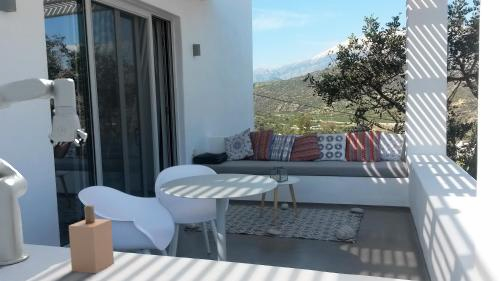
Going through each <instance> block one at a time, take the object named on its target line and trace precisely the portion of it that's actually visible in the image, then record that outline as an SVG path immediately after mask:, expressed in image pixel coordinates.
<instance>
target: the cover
mask: <svg viewBox="0 0 500 281" xmlns="http://www.w3.org/2000/svg"><path fill="white" fill-rule="evenodd" d="M83 207H84V219H83V220H81V221H78V222H75V223H73V224H70V225H68V234H69V235H68V236H69V248H70V249H69V250H70V262H71V263H70V264H71V271H72V272H74V273H75V272H79V273H86V274H87V273H88V274H97V273H99V272H101V271H102V270H104V269H106V268H108V267H110V266H111V265H113V264H115V257H114V244H113V228H112V219H105V218H101V219H100V218H96V216H95V205H94V204H88V205H87V204H86V205H84V206H83Z"/></svg>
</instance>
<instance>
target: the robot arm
mask: <svg viewBox="0 0 500 281" xmlns="http://www.w3.org/2000/svg"><path fill="white" fill-rule="evenodd" d="M75 88H76V87H75V81H74V80H73V78H72V79H71V78H55V79H54V80H53V79H46V78H41V77H32V78H30V77H29V78H26V79H20V80H16V81H11V82H8V83H3V84H1V85H0V110H2V109H8V108H11V107H12V105H14V104H16V103H17V104H18V103H21V102H25V101H33V100H37V99H41V100H50V99H53V102H54V103H53V105H54V109H53V110H52V112H53V113H54V115H53V117H52V126H51V128H52V129H51V130H52V132H51V133H49V134H48V135H47V137H48V139H49V143H51V145H52V147H53V148H54V158H60V157H63V147H62V145H61V144H62V143H63V142H65V143H67V142H73V143H74V145H76V146H74V147H75V148H74V149H75V157H76V158H80V157H84V151H83V149H84V148H83V146H84V145H85V143H86V142H87V138H88V133H86V132H85V131H83V130H82V128H81V124H80V123H81V122H80V118H79V115H78V114H77V102H76V100H77V99H76V90H75ZM28 186H29V185H28V181H27V180H26V178H25V177H24V176H23V175H22V174H21V173H20V172H18V171H17V170H16V169H15V168H14V167H13V166H12V165H11V164H9V163H8V162H7V161H6V160H4V159H2V158H1V157H0V266H7V265H12V264H14V265H15V264H18V263H20V262H24V261H25V260H27V259H28V258H29V256H30V255H29V252H27V251H25V250H24V248H25V246H24V236H23V222H22V213H21V207H20V203H19V198H21V197H23V196H24V195H25V194H26V192H27V191H28Z"/></svg>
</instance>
